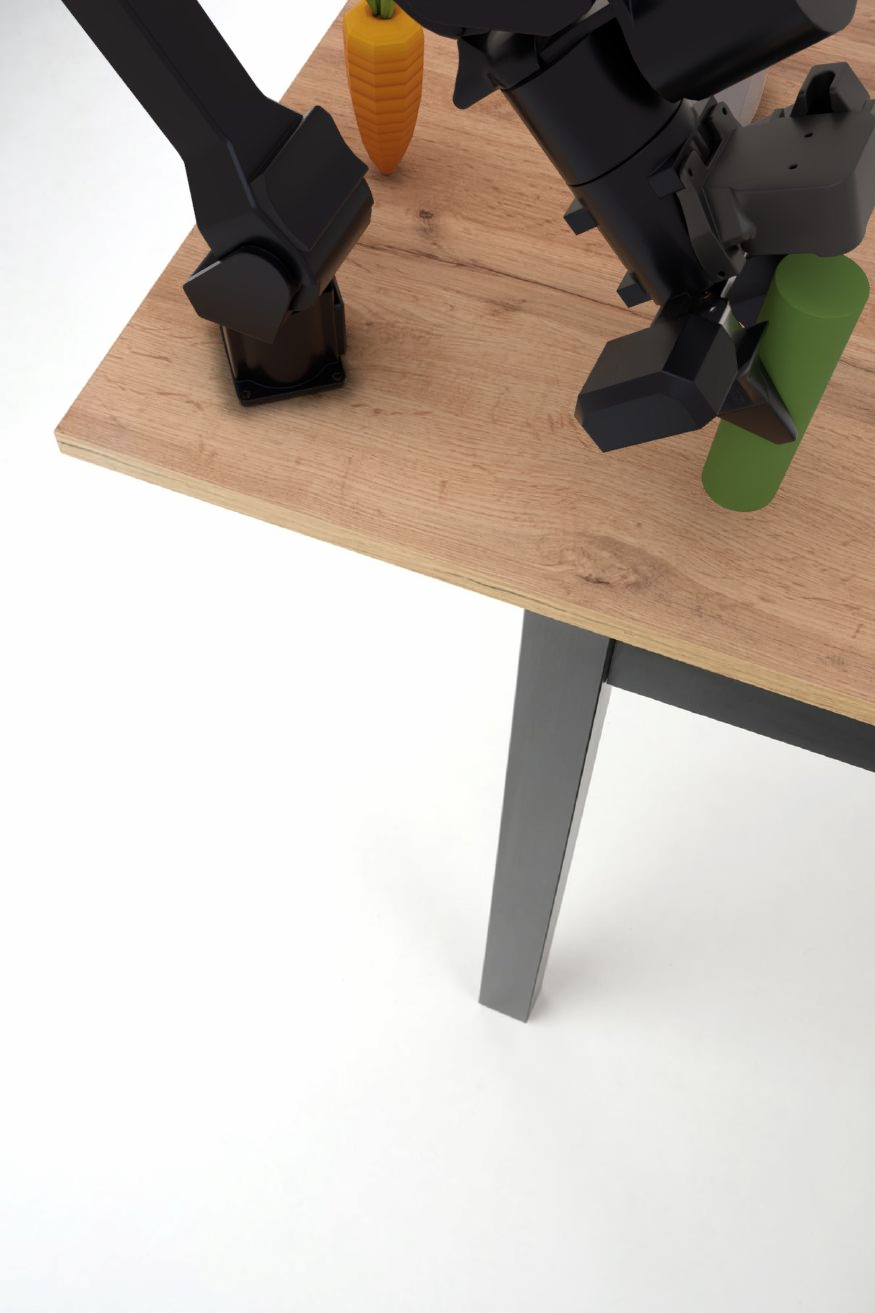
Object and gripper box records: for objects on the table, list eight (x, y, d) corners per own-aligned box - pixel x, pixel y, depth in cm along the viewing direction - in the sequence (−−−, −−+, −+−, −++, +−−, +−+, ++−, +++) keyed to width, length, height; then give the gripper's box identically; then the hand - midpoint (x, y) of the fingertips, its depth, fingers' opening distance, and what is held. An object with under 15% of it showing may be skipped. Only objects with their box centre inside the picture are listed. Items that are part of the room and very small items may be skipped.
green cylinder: (718, 519, 60) (798, 325, 48) (690, 459, 62) (760, 256, 50) (789, 503, 61) (886, 307, 48) (759, 444, 63) (845, 240, 50)
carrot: (415, 204, 76) (415, -21, 63) (341, 192, 77) (326, -33, 64) (430, 153, 79) (434, -74, 65) (358, 142, 79) (348, -86, 66)
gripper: (711, 214, 38) (915, 533, 45) (869, -89, 46) (1019, 227, 53) (476, 310, 46) (682, 565, 54) (644, 40, 54) (802, 296, 62)
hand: (801, 408), depth 55 cm, fingers closed on green cylinder, 4 cm apart
